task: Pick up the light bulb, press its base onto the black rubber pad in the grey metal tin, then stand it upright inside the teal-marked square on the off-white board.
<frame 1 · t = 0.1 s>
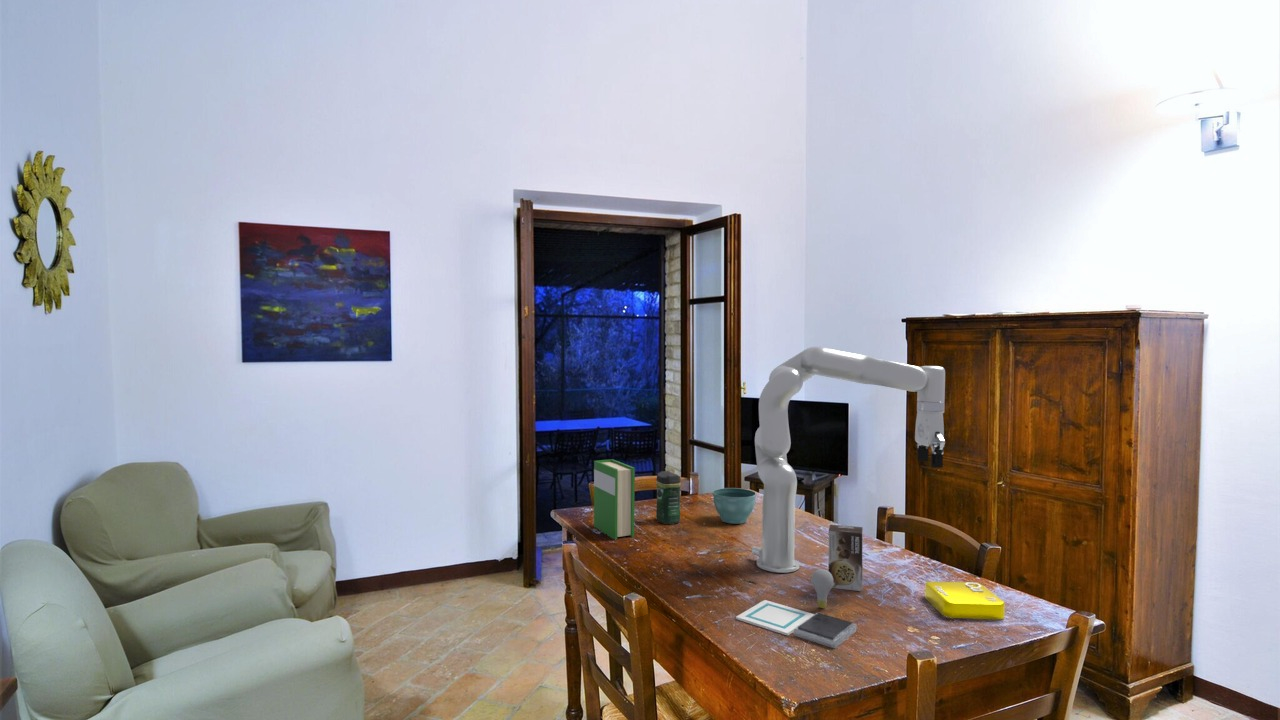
hand: (929, 464, 202), 31 cm above the table, tool pointing down, fingers open, 9 cm apart
element tile: (963, 609, 173), on the table
coffee jar: (668, 522, 252), on the table
flower pot: (734, 521, 253), on the table
ink pad: (825, 633, 157), on the table
coffee box: (845, 586, 187), on the table
light bulb: (821, 609, 172), on the table
marked board: (775, 617, 165), on the table
hardback book: (613, 532, 238), on the table
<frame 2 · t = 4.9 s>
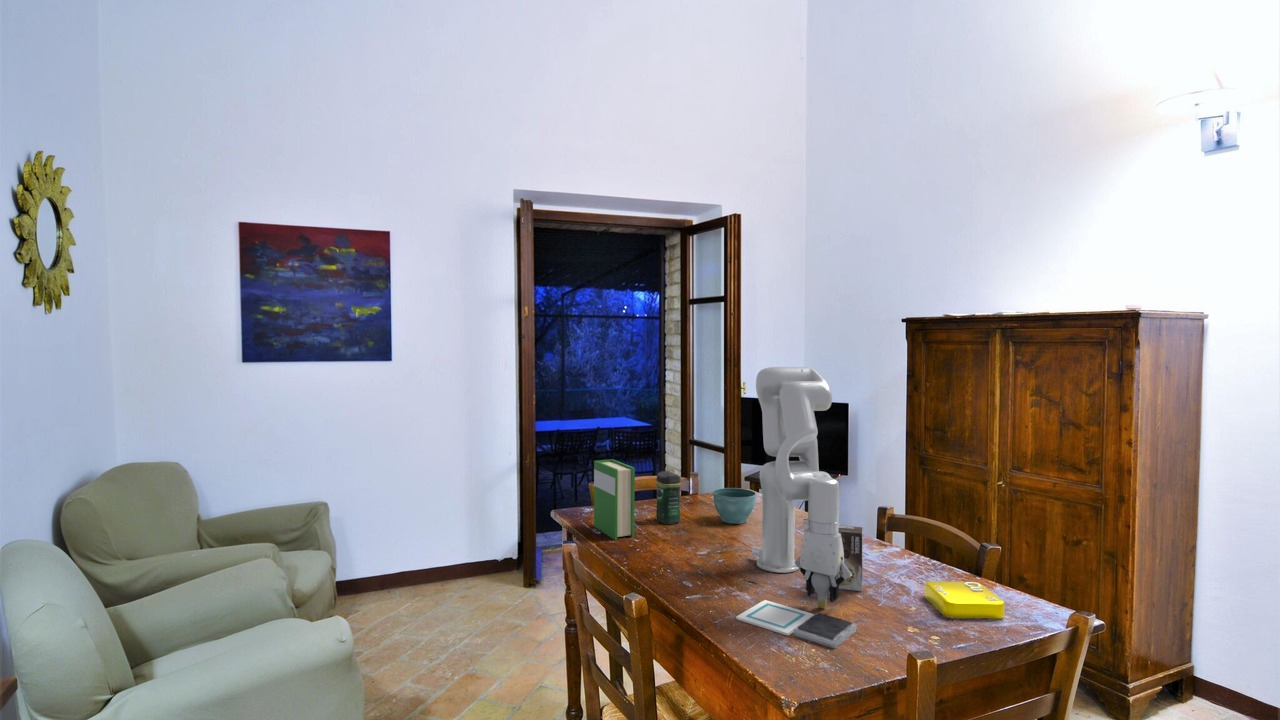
hand: (822, 596, 171), 3 cm above the table, tool pointing down, fingers closed on light bulb, 5 cm apart
light bulb: (821, 609, 172), on the table, touching gripper
everything else where it was.
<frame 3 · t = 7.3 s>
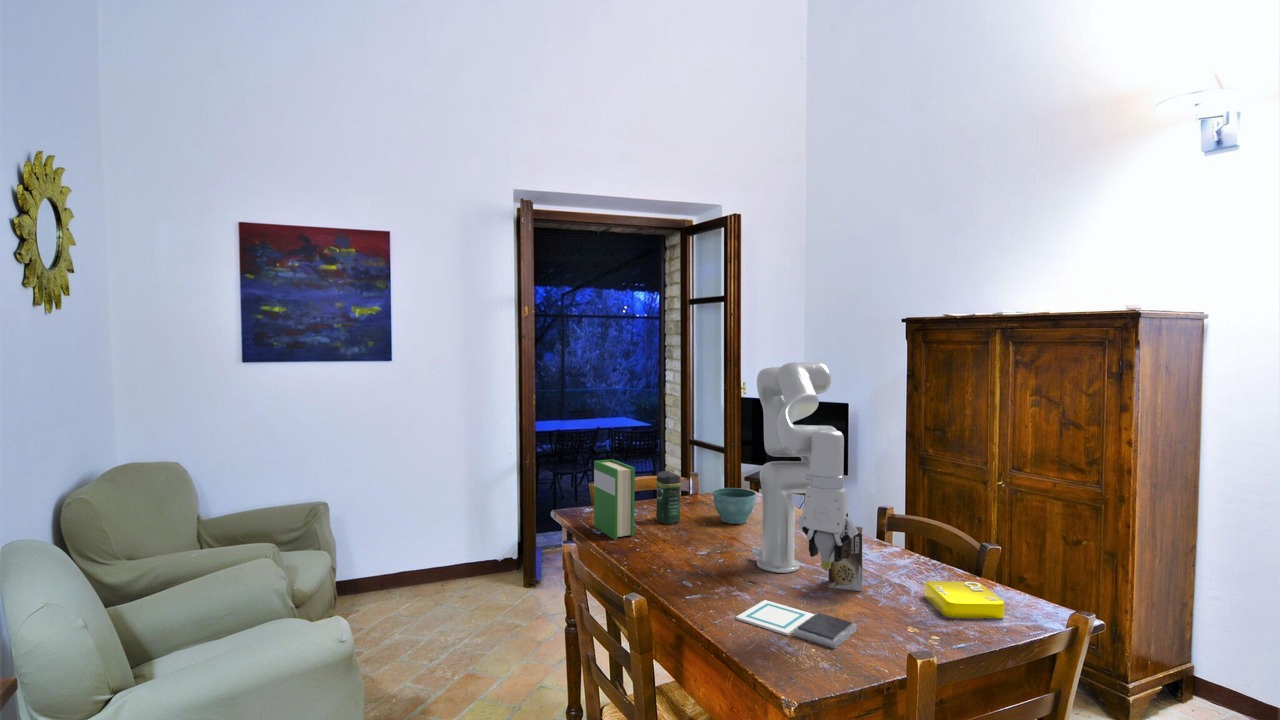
hand: (826, 557, 160), 17 cm above the table, tool pointing down, fingers closed on light bulb, 5 cm apart
light bulb: (825, 570, 160), point 13 cm above the table, touching gripper
everything else where it was.
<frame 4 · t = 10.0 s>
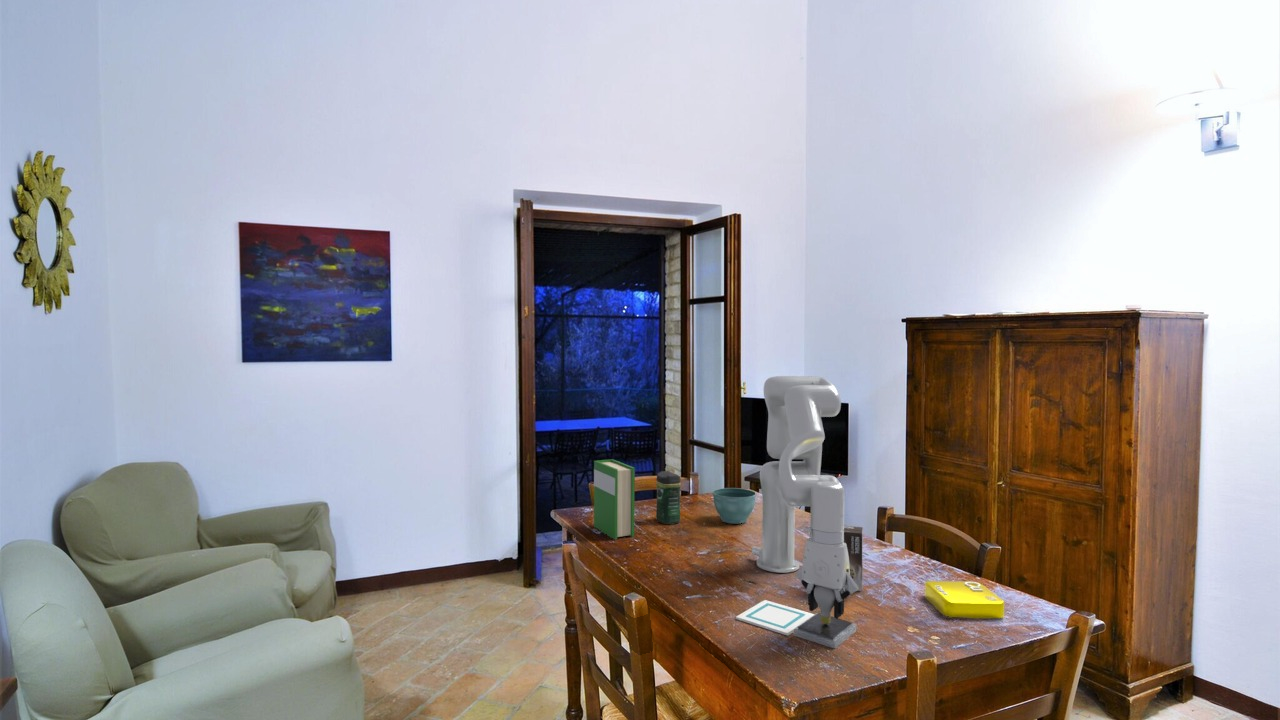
hand: (825, 612, 157), 5 cm above the table, tool pointing down, fingers closed on light bulb, 5 cm apart
light bulb: (825, 625, 157), point 2 cm above the table, touching gripper, ink pad
everything else where it was.
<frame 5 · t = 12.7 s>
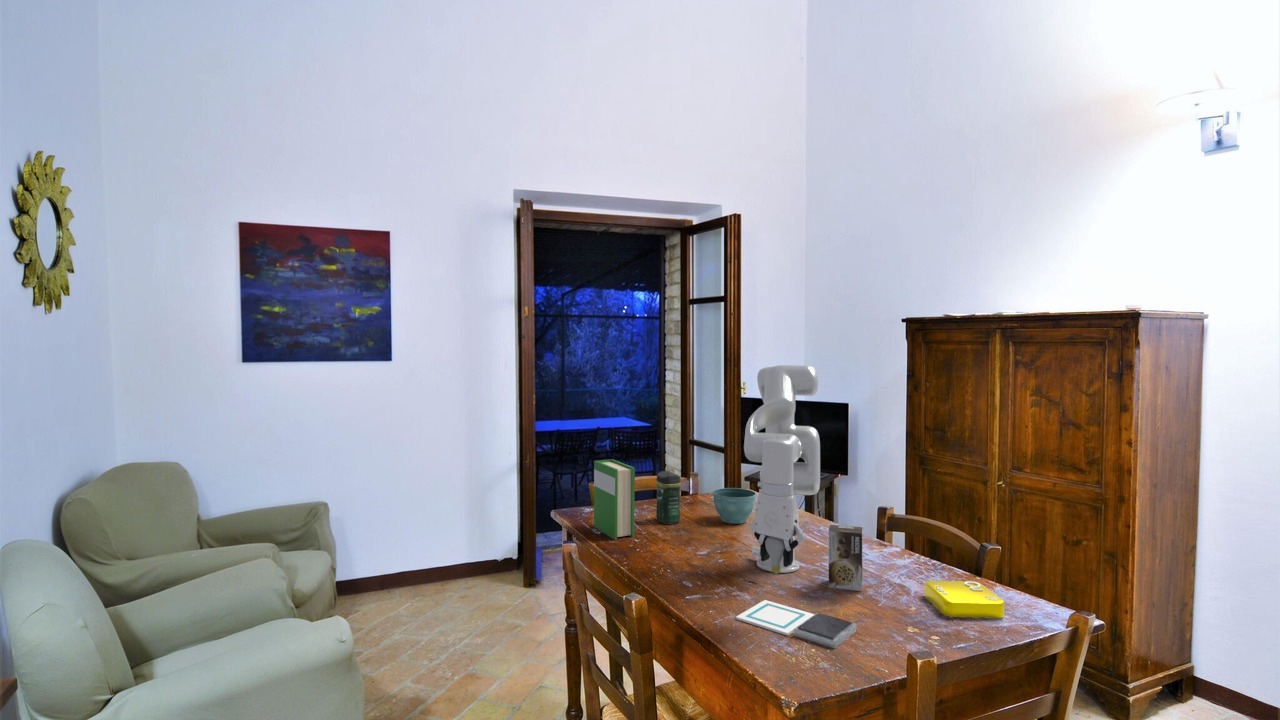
hand: (776, 561, 165), 14 cm above the table, tool pointing down, fingers closed on light bulb, 5 cm apart
light bulb: (776, 574, 165), point 11 cm above the table, touching gripper
everything else where it was.
when the fingers open (4 cm above the table, at t = 15.1 s): light bulb stays where it is, resting on marked board.
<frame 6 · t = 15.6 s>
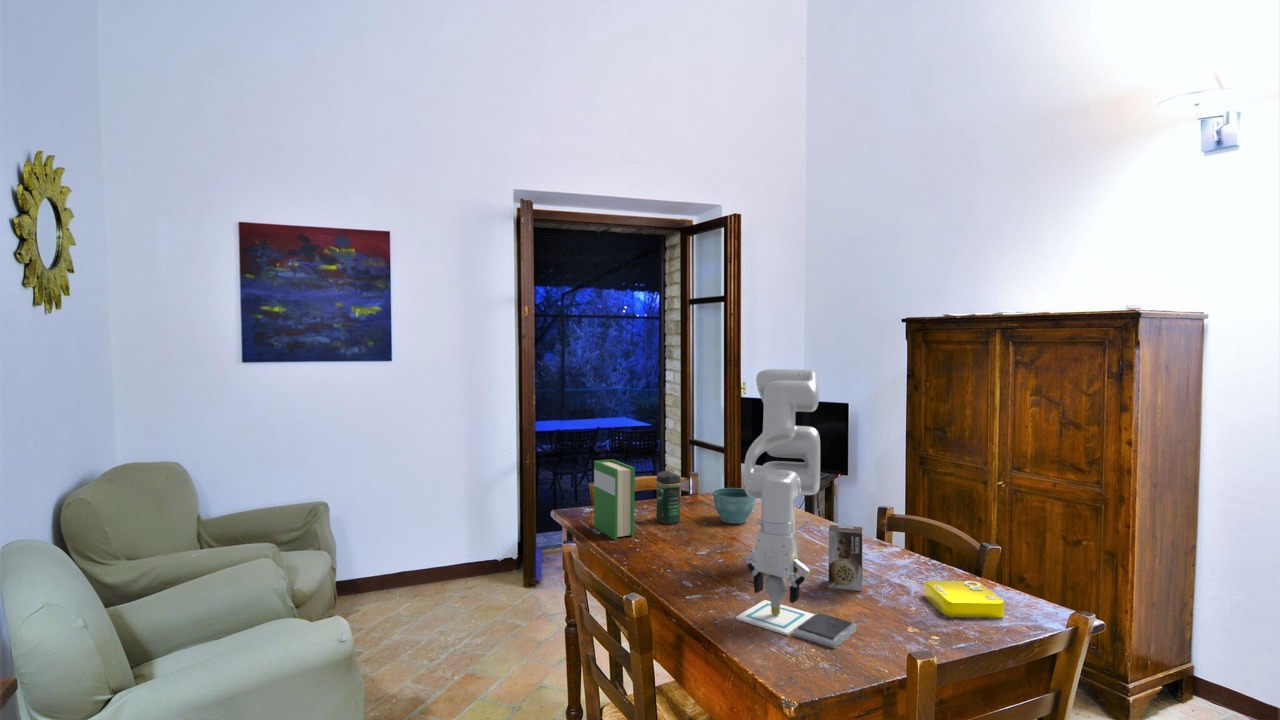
hand: (775, 596, 165), 5 cm above the table, tool pointing down, fingers open, 9 cm apart
light bulb: (775, 615, 166), resting on marked board
everything else where it was.
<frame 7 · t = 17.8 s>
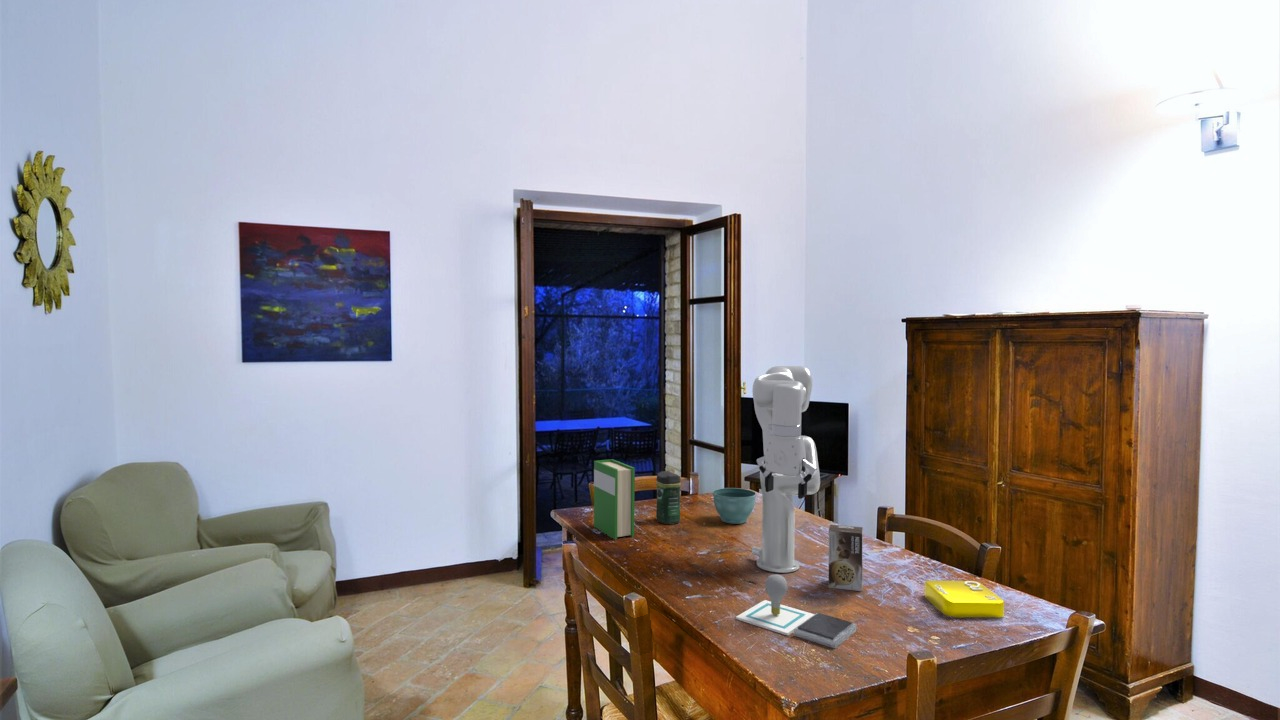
hand: (785, 494, 180), 27 cm above the table, tool pointing down, fingers open, 9 cm apart
nothing on the table moved.
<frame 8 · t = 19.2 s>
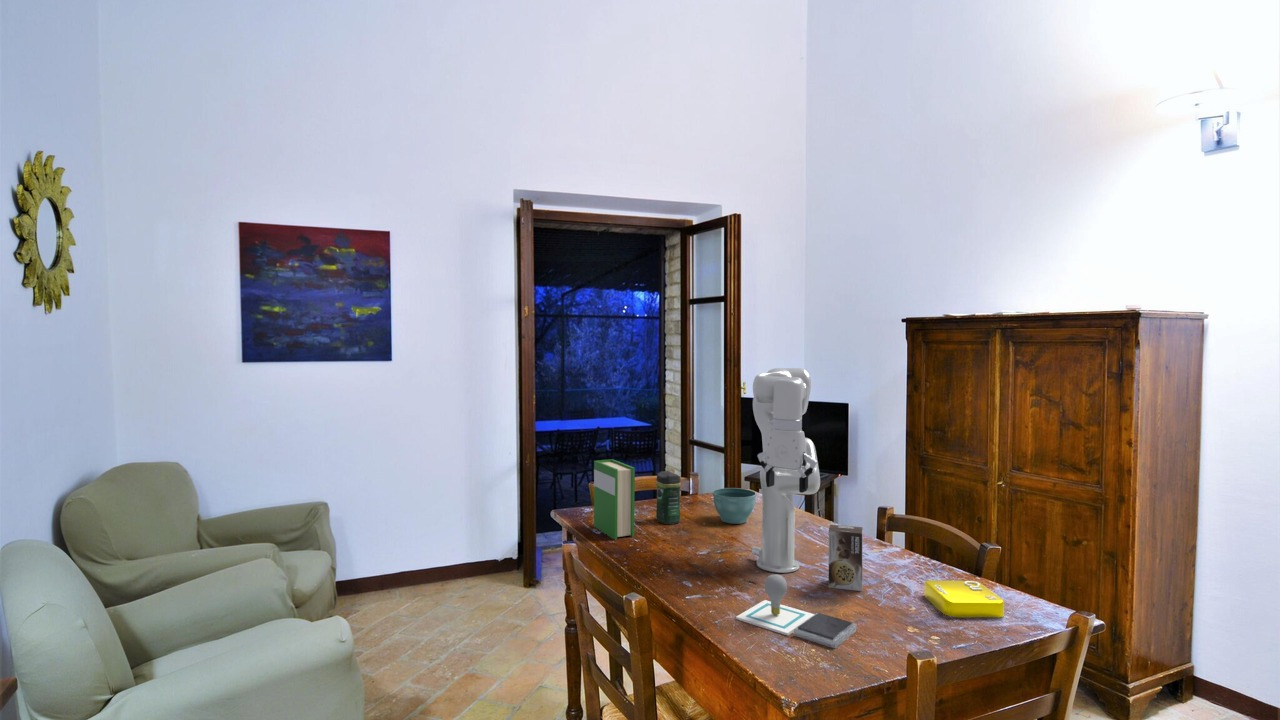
hand: (786, 488, 181), 28 cm above the table, tool pointing down, fingers open, 9 cm apart
nothing on the table moved.
at the end: light bulb 0.3 cm off-centre on the marked board, point 0.4 cm above the marked board's base; light bulb tilted 0°; the gripper is holding nothing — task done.
